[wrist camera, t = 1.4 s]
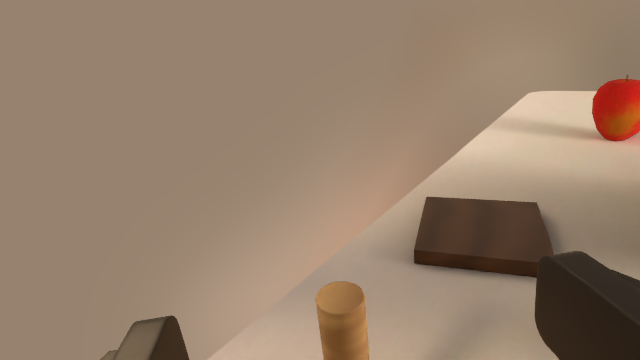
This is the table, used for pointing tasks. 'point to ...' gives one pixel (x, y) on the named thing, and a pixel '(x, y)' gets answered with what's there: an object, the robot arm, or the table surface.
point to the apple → (617, 109)
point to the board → (482, 235)
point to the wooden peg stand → (342, 322)
